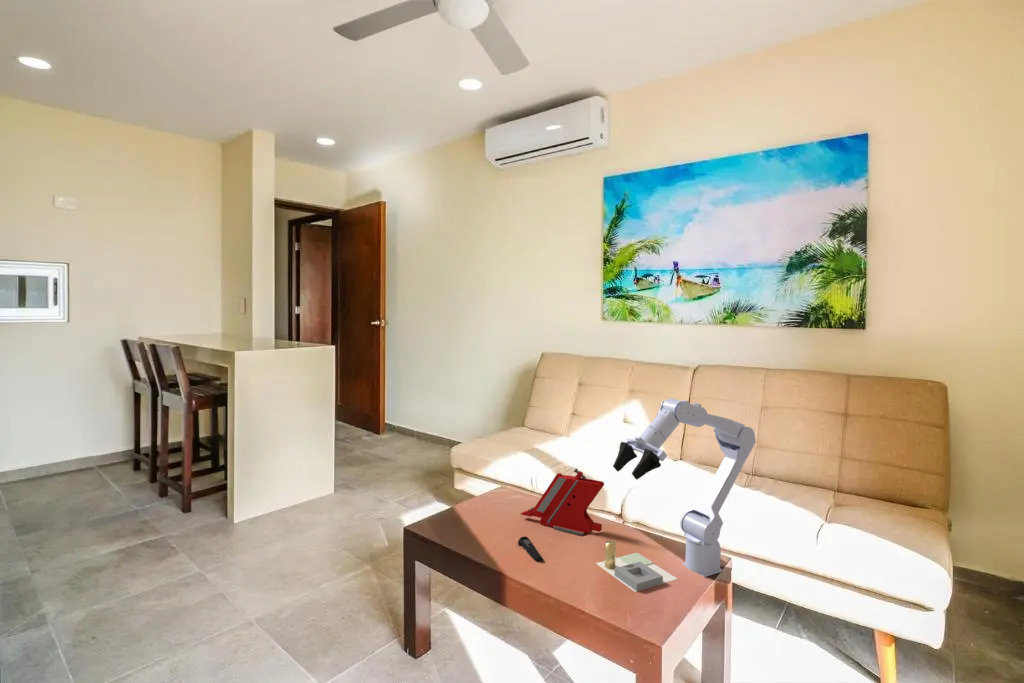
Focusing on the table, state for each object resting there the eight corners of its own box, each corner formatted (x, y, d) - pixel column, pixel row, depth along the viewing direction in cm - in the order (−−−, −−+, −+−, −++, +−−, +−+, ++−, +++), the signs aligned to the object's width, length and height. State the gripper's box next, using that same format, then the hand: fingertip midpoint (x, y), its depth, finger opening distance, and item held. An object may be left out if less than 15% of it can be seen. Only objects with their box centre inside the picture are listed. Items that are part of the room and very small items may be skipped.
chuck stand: (635, 555, 157) (636, 546, 157) (677, 582, 142) (678, 571, 142) (595, 566, 151) (595, 556, 150) (634, 595, 136) (635, 584, 135)
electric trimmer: (533, 567, 150) (534, 557, 150) (516, 544, 165) (517, 534, 165) (545, 566, 152) (546, 555, 151) (527, 543, 166) (528, 533, 166)
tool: (516, 517, 182) (546, 453, 174) (524, 510, 187) (553, 448, 179) (581, 564, 172) (617, 499, 164) (587, 556, 177) (622, 492, 169)
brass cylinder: (610, 563, 151) (611, 539, 150) (617, 567, 148) (618, 543, 147) (602, 565, 149) (603, 541, 149) (609, 570, 147) (609, 545, 146)
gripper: (630, 419, 144) (599, 455, 140) (668, 429, 131) (635, 470, 127) (643, 436, 147) (613, 472, 142) (681, 448, 134) (649, 488, 129)
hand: (624, 472), depth 135 cm, fingers open, 7 cm apart
